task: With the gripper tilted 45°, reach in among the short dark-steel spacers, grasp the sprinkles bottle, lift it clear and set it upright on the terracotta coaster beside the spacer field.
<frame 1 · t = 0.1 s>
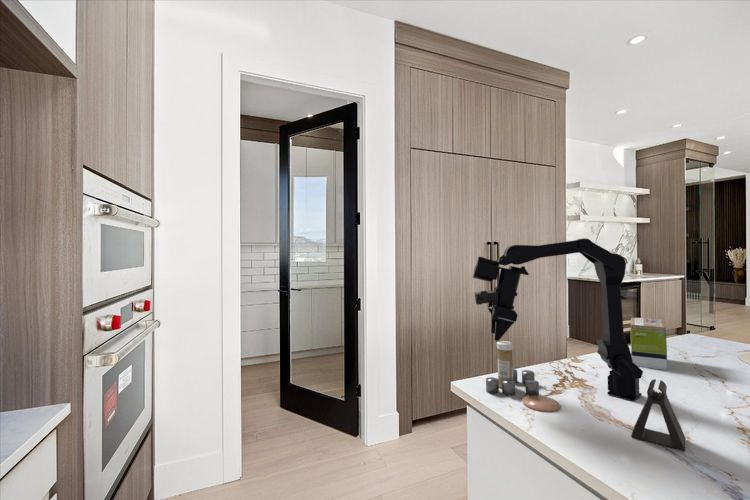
hand: (494, 336, 109), 15 cm above the counter, tool pointing down, fingers open, 9 cm apart
phone stand: (658, 439, 79), on the counter
tea box: (648, 363, 130), on the counter
spacer field: (516, 388, 108), on the counter
sprinkles bottle: (505, 387, 110), on the counter
coaster: (540, 404, 97), on the counter
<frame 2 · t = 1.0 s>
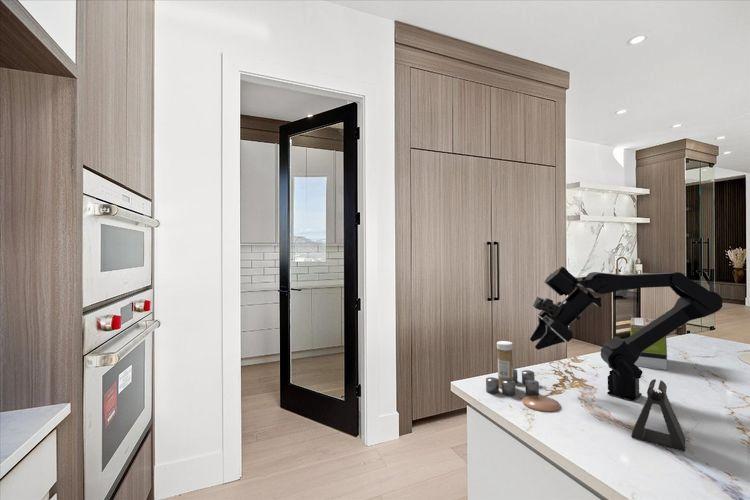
hand: (533, 344, 108), 13 cm above the counter, tool tilted 45°, fingers open, 9 cm apart
nothing on the counter moved.
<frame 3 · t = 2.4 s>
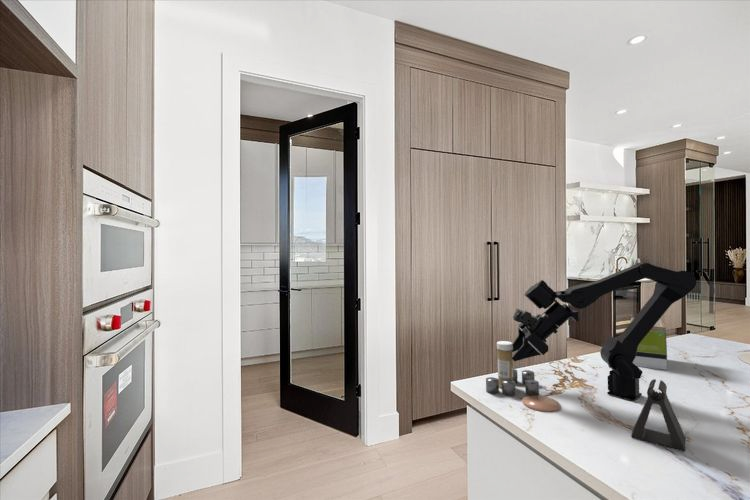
hand: (511, 355, 109), 10 cm above the counter, tool tilted 45°, fingers open, 9 cm apart
nothing on the counter moved.
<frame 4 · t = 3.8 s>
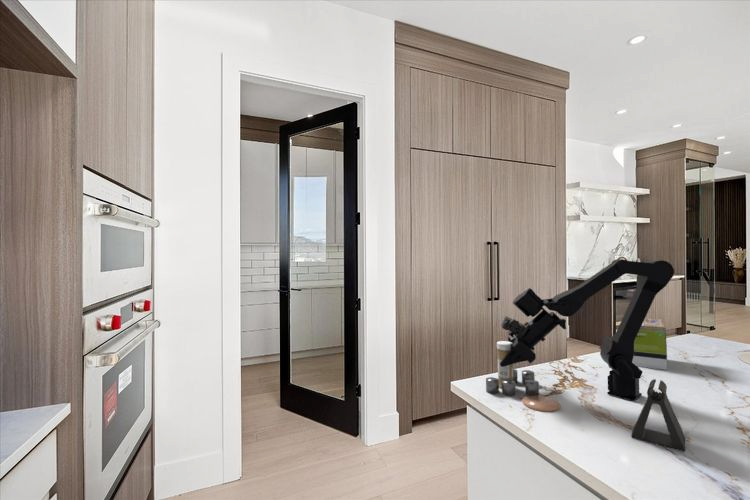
hand: (500, 363, 110), 7 cm above the counter, tool tilted 45°, fingers closed on sprinkles bottle, 4 cm apart
sprinkles bottle: (505, 387, 110), on the counter, touching gripper
everything else where it was.
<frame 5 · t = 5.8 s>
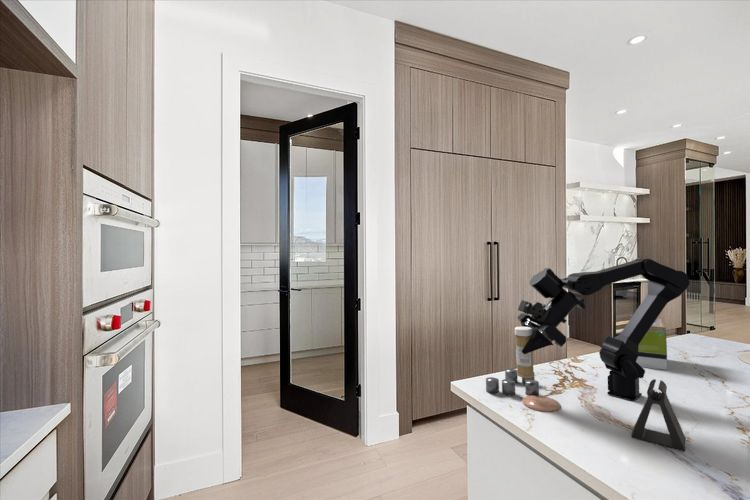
hand: (519, 350, 102), 13 cm above the counter, tool tilted 45°, fingers closed on sprinkles bottle, 4 cm apart
sprinkles bottle: (525, 376, 102), point 6 cm above the counter, touching gripper
everything else where it was.
when the fingers open (9 cm above the counter, at t = 7.7 s): sprinkles bottle stays where it is, resting on coaster.
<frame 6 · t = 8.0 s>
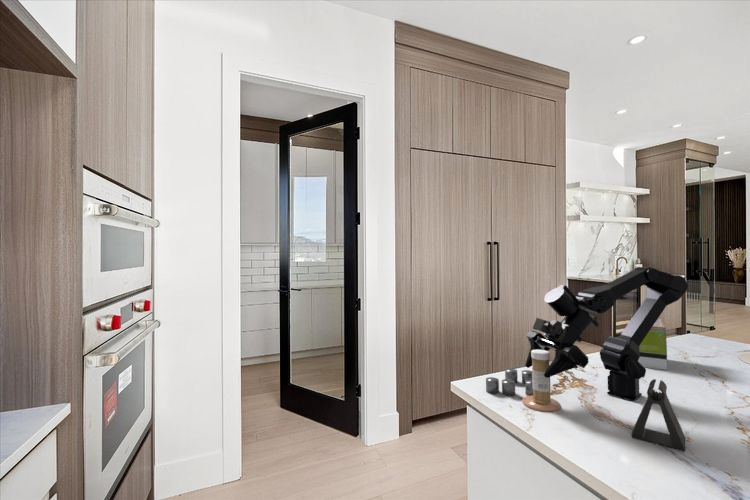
hand: (535, 371, 97), 9 cm above the counter, tool tilted 45°, fingers open, 8 cm apart
sprinkles bottle: (541, 402, 97), resting on coaster
everything else where it was.
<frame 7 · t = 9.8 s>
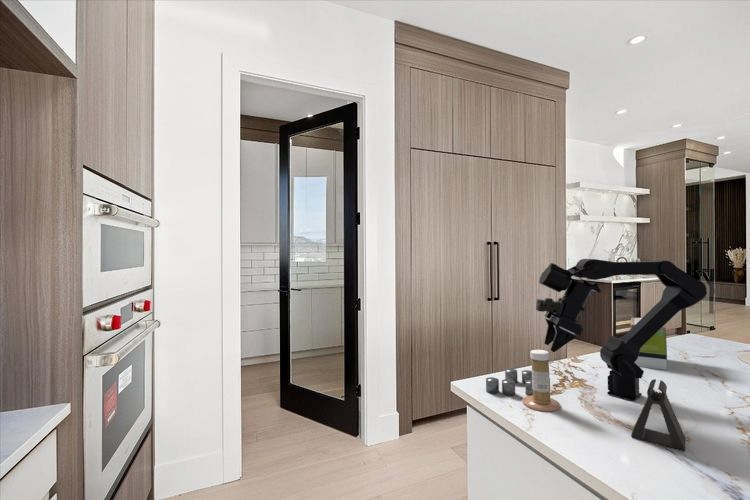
hand: (548, 347, 105), 13 cm above the counter, tool tilted 25°, fingers open, 9 cm apart
nothing on the counter moved.
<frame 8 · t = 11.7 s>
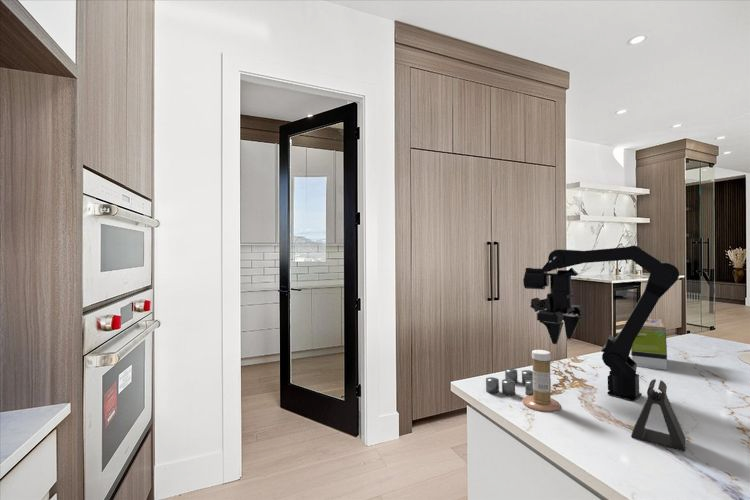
hand: (561, 341, 111), 13 cm above the counter, tool pointing down, fingers open, 9 cm apart
nothing on the counter moved.
at the end: sprinkles bottle 0.2 cm off-centre on the coaster, point 0.4 cm above the coaster's base; sprinkles bottle tilted 1°; the gripper is holding nothing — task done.
